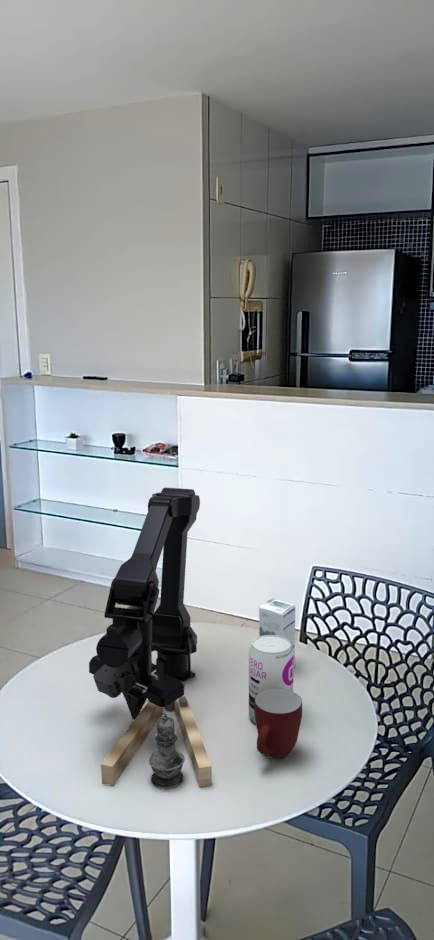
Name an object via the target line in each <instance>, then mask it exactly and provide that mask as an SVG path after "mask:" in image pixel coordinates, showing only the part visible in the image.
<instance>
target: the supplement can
mask: <svg viewBox="0 0 434 940" xmlns="http://www.w3.org/2000/svg"><path fill="white" fill-rule="evenodd" d="M294 668H295V667H294V650H293V648H292V646H291V644H290V641H289V640H288V639H286V638H284V637H281V636H277V635H264V636H260V637H259V636H258V637H256V638H255V639H253V640H252V643H251V645H250V647H249V649H248V716H249V718H250V720H252V721H253V723H255V724H256V721H255V713H254V704H255V697H256V696H257V694H259V693H260V692H262V691H264V690H267V689H274V688H280V689H287V690H290V691H293V692H294Z"/></svg>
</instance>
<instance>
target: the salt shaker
mask: <svg viewBox="0 0 434 940" xmlns="http://www.w3.org/2000/svg"><path fill="white" fill-rule="evenodd" d="M175 728H176V724H175V719H174V718H173V717H172V716H169V715H168V713H167V712H164V713H163V715H162V716H161V717H160V718H159V719H158V720H157V723H156V736H155V737H154V742H155V743H156V750H155V751H154V752H152V753H151V754H150V756H149V757H148V764H149V766H150V769H151V770H152V772H153V773H152V774H151V776H150V782H151V783H152V785H154V787H156V788H159V789H164V790H169V789H174V788H176V787H178V786H180V785H181V784H182V782H183V780H184V775H183V772H182V771H181V770H182V768H183V765H184V763H185V760H186V757H185V755H184V753H183V752H182V751H180V750H178V749H177V743H176V742H177V741H178V735H177V734H176V729H175Z"/></svg>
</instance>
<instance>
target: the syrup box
mask: <svg viewBox="0 0 434 940" xmlns="http://www.w3.org/2000/svg"><path fill="white" fill-rule="evenodd" d="M258 608H259V609H258V610H259V611H258V618H259V619H258V620H259V621H258V622H259V623H258V625H259V627H258V629H259V632H258V633H259V636H258V637H260V636H264V635H277V636H281V637H284V638H286V639H288V640H289V641H290V644H291V646H292V648H293V650H294V668H295V666H296V665H295V664H296V663H295V662H296V651H295V649H296V604H295V603H291V602H287V601H284V600H279V599H276V598H271V599H268V600H267V601H265V602H264V603H262V604H261V606H259V607H258Z"/></svg>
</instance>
